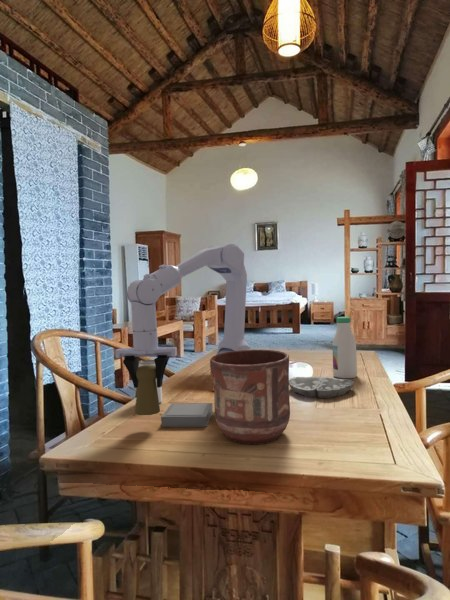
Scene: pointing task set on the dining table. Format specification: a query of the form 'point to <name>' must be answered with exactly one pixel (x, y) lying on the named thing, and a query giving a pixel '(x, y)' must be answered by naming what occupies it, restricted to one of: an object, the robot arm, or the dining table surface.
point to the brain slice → (320, 386)
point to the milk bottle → (344, 350)
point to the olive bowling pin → (147, 391)
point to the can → (159, 389)
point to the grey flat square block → (187, 415)
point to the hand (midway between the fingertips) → (148, 386)
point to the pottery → (251, 394)
